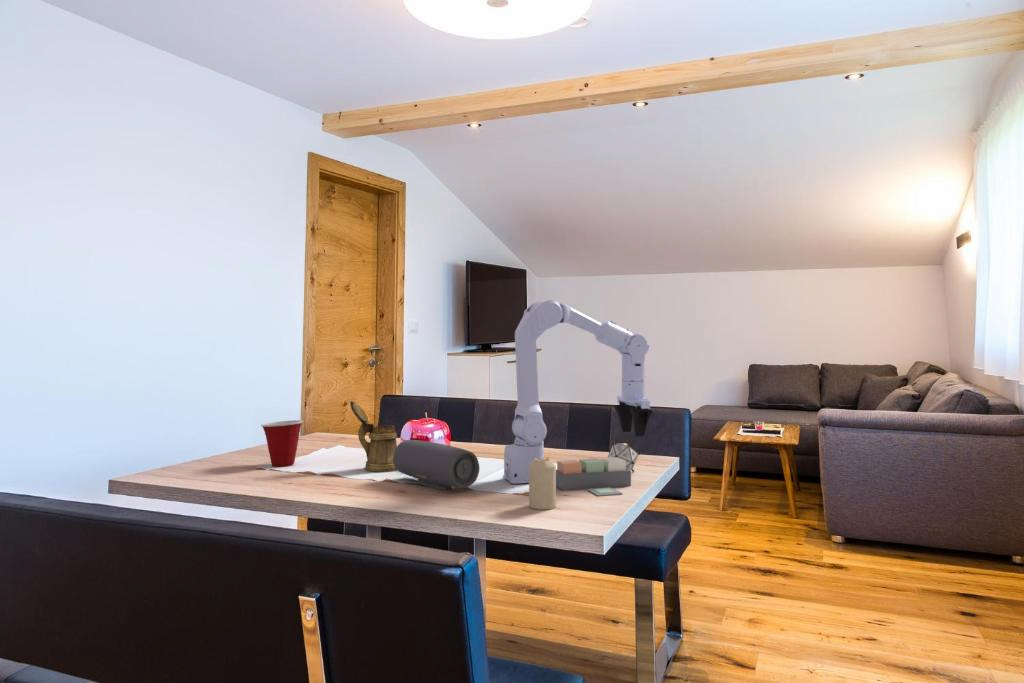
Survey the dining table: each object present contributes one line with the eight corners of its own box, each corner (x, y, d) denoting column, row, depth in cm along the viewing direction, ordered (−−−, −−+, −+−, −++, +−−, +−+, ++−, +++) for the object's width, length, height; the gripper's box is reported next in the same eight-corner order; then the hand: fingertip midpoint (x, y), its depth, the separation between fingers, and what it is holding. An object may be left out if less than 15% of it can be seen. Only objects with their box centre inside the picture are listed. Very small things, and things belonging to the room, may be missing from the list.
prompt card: (597, 496, 148) (597, 494, 148) (587, 490, 153) (587, 488, 153) (622, 494, 149) (622, 492, 149) (611, 488, 155) (611, 486, 155)
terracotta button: (563, 477, 154) (563, 464, 154) (557, 473, 158) (557, 460, 158) (581, 475, 155) (581, 463, 155) (574, 472, 160) (574, 459, 160)
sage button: (586, 475, 156) (586, 462, 156) (579, 471, 160) (579, 459, 160) (603, 474, 157) (603, 461, 157) (596, 470, 161) (596, 458, 161)
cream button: (608, 474, 157) (608, 461, 157) (600, 470, 162) (601, 458, 162) (625, 473, 159) (625, 460, 159) (617, 469, 163) (617, 457, 163)
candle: (554, 503, 142) (554, 455, 141) (557, 509, 136) (557, 460, 136) (528, 503, 141) (528, 456, 141) (529, 510, 136) (529, 460, 136)
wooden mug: (356, 464, 184) (355, 399, 183) (404, 465, 182) (404, 399, 182) (344, 471, 175) (344, 402, 174) (395, 472, 173) (395, 402, 173)
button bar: (561, 490, 153) (561, 475, 153) (552, 484, 159) (552, 469, 159) (630, 485, 158) (630, 470, 158) (619, 480, 164) (619, 465, 164)
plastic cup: (281, 460, 190) (280, 417, 190) (311, 462, 186) (311, 419, 186) (252, 466, 180) (252, 422, 180) (283, 470, 176) (283, 424, 176)
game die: (629, 487, 172) (645, 460, 167) (598, 475, 172) (612, 448, 167) (631, 465, 180) (646, 438, 174) (601, 453, 180) (615, 426, 174)
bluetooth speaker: (481, 489, 154) (481, 446, 154) (450, 496, 147) (450, 451, 147) (421, 475, 170) (421, 435, 170) (391, 480, 164) (390, 439, 163)
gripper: (661, 382, 166) (660, 437, 166) (634, 378, 180) (634, 429, 180) (635, 383, 164) (635, 438, 164) (610, 379, 178) (610, 430, 178)
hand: (632, 434), depth 172 cm, fingers open, 7 cm apart
